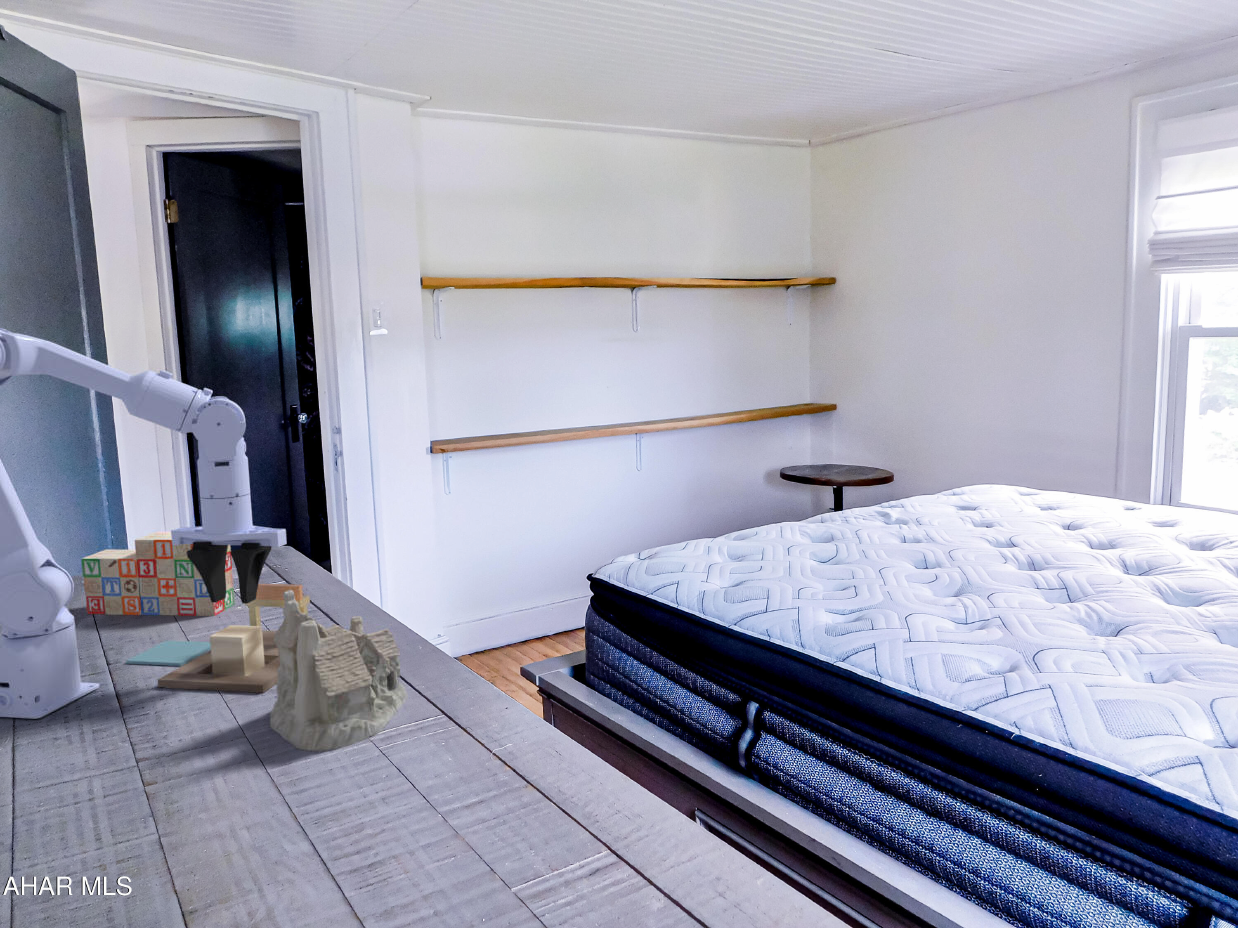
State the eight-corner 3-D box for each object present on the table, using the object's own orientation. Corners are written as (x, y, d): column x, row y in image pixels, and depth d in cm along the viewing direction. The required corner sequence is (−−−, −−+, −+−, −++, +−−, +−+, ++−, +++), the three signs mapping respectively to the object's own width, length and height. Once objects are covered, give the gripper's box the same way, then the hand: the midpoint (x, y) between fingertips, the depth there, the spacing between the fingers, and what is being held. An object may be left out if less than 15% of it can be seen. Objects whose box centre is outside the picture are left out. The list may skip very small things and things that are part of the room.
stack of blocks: (85, 615, 137) (77, 539, 135) (111, 603, 143) (104, 530, 141) (215, 616, 135) (209, 539, 133) (236, 604, 141) (230, 530, 140)
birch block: (245, 679, 109) (241, 637, 108) (213, 678, 109) (209, 636, 108) (264, 666, 113) (261, 626, 112) (233, 665, 114) (230, 625, 113)
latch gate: (302, 641, 118) (299, 586, 117) (247, 638, 120) (243, 584, 119) (312, 635, 121) (308, 581, 120) (258, 632, 122) (254, 579, 121)
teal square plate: (180, 666, 113) (180, 663, 113) (126, 663, 115) (126, 660, 115) (218, 645, 121) (218, 642, 121) (166, 643, 123) (166, 640, 122)
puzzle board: (263, 692, 104) (262, 684, 104) (158, 687, 106) (157, 679, 106) (338, 640, 123) (338, 633, 122) (248, 636, 125) (247, 629, 125)
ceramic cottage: (293, 759, 87) (292, 611, 86) (256, 711, 100) (254, 583, 99) (440, 728, 95) (440, 594, 94) (387, 688, 109) (387, 570, 108)
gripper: (296, 490, 111) (303, 593, 112) (193, 489, 113) (201, 590, 115) (265, 500, 104) (273, 609, 106) (156, 498, 106) (165, 605, 108)
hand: (233, 600), depth 110 cm, fingers open, 4 cm apart
